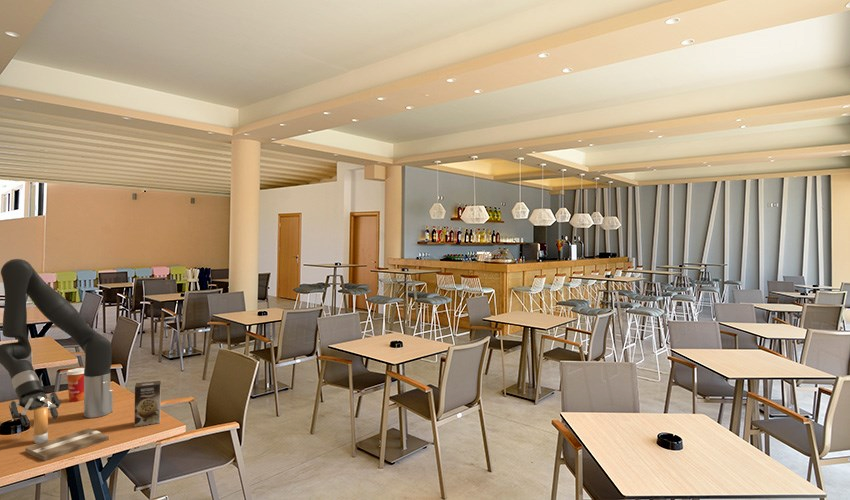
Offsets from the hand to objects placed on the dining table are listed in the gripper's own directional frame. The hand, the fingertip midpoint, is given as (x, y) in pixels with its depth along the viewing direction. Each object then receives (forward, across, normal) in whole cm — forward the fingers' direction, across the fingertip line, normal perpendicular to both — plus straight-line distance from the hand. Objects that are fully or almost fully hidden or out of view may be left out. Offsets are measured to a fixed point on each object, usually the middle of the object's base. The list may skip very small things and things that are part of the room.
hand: (41, 421), depth 173 cm
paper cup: (-24, +30, +34) cm, 51 cm away
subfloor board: (+14, +3, -3) cm, 14 cm away
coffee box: (+16, +30, -5) cm, 34 cm away
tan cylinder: (+5, 0, +6) cm, 8 cm away
